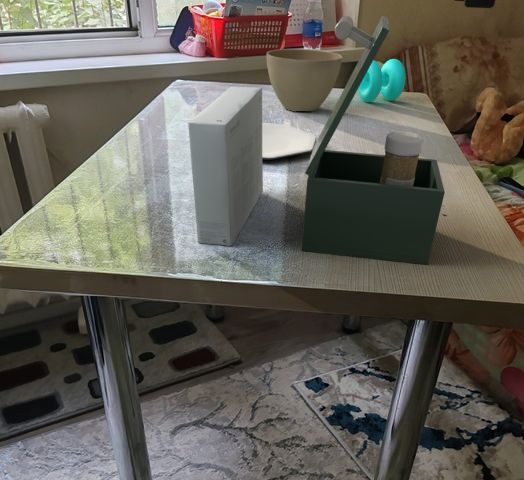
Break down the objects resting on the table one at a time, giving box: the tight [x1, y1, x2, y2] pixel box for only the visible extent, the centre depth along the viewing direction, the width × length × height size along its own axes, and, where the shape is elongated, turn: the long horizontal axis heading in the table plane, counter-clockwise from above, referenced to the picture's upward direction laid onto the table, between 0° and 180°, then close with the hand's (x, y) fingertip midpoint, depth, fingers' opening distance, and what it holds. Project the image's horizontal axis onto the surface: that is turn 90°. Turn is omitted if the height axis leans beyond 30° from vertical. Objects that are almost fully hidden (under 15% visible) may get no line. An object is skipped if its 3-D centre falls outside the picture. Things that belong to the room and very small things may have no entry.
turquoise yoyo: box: [356, 58, 406, 103], centre depth 144 cm, size 10×10×10 cm
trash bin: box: [301, 149, 446, 266], centre depth 74 cm, size 17×13×10 cm
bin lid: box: [304, 15, 390, 177], centre depth 67 cm, size 17×13×5 cm
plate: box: [262, 122, 317, 161], centre depth 111 cm, size 24×24×2 cm
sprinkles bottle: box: [380, 130, 424, 187], centre depth 72 cm, size 5×5×13 cm
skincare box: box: [187, 86, 264, 247], centre depth 77 cm, size 21×5×16 cm, turn 168°
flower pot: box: [266, 48, 343, 112], centre depth 134 cm, size 18×18×12 cm
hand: (471, 3), depth 65 cm, fingers open, 9 cm apart
